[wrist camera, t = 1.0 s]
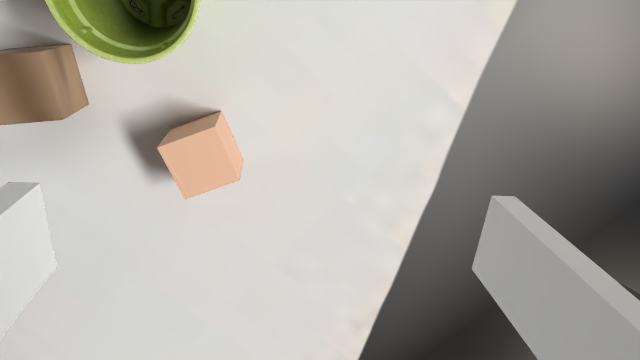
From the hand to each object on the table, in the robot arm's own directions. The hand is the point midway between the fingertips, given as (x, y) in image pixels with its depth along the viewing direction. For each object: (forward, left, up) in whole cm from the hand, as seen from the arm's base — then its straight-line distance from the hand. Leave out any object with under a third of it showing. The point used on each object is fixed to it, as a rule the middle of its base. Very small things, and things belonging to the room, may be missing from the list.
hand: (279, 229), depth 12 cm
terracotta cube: (-6, -7, -27) cm, 28 cm away
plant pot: (-10, +6, -27) cm, 29 cm away
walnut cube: (-19, -2, -27) cm, 33 cm away
